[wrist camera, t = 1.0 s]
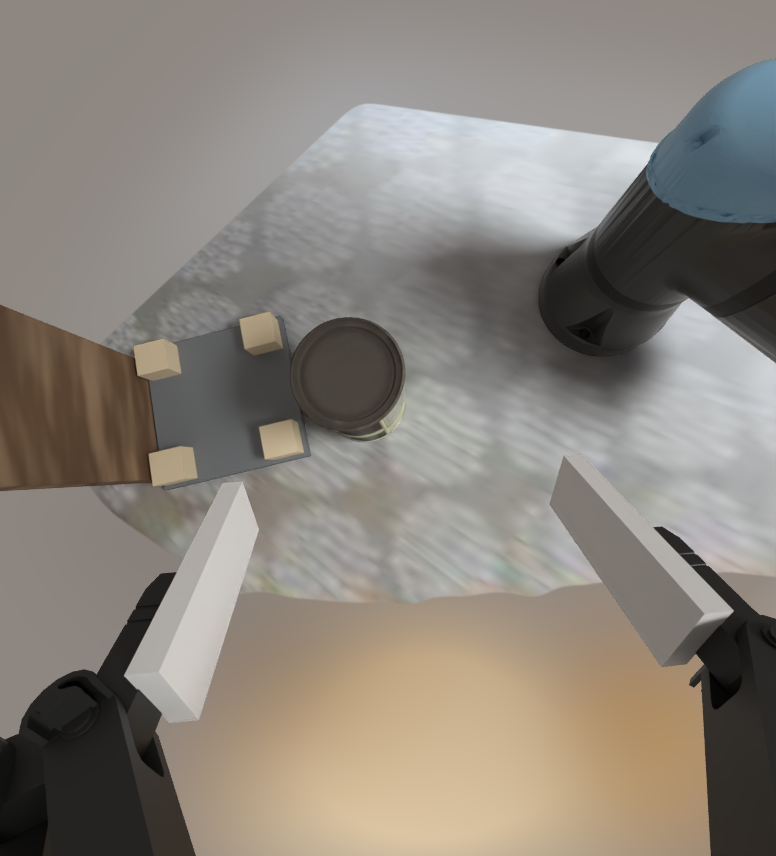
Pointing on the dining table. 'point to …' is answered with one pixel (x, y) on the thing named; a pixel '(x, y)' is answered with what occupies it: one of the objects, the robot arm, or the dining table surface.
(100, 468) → the walnut shelf
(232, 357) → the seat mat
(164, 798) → the robot arm
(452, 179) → the dining table surface
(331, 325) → the coffee can
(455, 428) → the dining table surface
